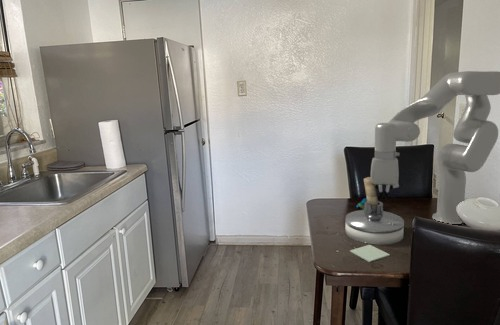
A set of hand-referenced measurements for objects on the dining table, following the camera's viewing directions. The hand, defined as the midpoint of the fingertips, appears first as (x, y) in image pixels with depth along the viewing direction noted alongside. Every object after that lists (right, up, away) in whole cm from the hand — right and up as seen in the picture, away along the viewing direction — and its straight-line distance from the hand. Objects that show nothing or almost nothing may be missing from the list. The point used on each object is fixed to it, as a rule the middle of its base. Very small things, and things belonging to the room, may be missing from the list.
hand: (383, 201), depth 137 cm
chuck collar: (-5, -8, -4) cm, 10 cm away
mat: (-12, -16, -19) cm, 28 cm away
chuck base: (-5, -12, -3) cm, 13 cm away
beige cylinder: (-3, -5, +2) cm, 6 cm away
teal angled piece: (+1, -7, +26) cm, 27 cm away
